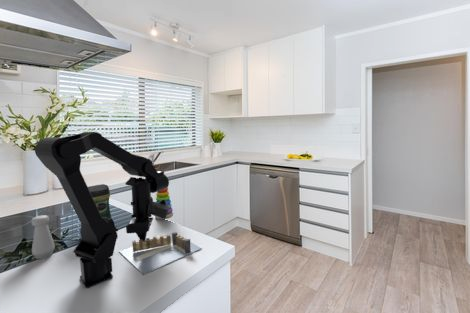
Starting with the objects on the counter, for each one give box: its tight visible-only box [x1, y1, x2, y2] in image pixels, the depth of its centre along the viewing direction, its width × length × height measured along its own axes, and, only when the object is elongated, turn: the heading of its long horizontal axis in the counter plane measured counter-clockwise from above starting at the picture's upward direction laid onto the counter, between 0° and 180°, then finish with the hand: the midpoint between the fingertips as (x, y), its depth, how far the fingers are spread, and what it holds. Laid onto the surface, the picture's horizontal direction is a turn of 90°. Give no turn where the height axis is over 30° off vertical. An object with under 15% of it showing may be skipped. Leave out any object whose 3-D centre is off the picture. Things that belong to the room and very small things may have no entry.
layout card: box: [118, 231, 202, 276], centre depth 81 cm, size 20×18×1 cm
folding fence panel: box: [131, 233, 171, 252], centre depth 81 cm, size 12×1×3 cm, turn 115°
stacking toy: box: [154, 186, 174, 220], centre depth 110 cm, size 8×8×19 cm
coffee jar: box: [87, 183, 113, 219], centre depth 94 cm, size 10×8×19 cm
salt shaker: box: [31, 214, 56, 260], centre depth 77 cm, size 6×6×13 cm
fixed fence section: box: [171, 231, 191, 253], centre depth 82 cm, size 2×9×4 cm, turn 45°
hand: (143, 241), depth 81 cm, fingers closed
